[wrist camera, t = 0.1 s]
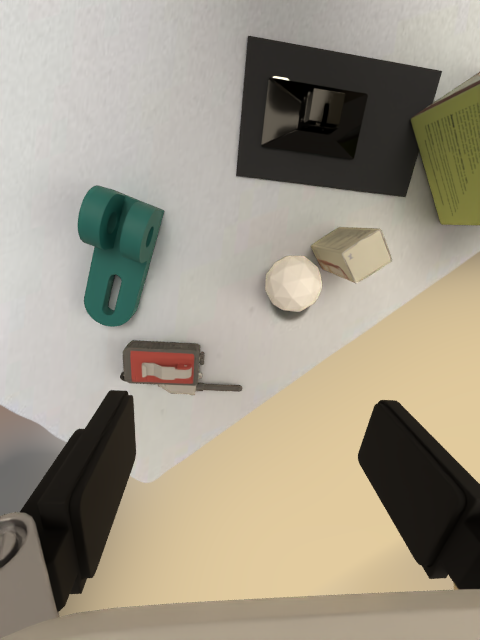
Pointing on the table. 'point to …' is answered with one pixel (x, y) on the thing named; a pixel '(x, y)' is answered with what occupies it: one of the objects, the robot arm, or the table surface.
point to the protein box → (453, 152)
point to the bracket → (117, 250)
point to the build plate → (312, 118)
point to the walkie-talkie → (167, 367)
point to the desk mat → (377, 125)
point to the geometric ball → (293, 283)
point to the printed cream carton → (352, 252)
